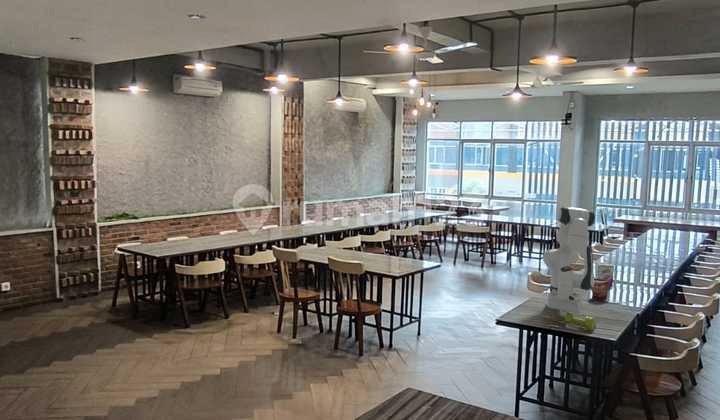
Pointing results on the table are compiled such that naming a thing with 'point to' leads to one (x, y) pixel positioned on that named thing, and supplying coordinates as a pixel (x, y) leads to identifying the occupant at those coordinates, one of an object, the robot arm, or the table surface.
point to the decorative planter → (600, 290)
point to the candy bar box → (606, 273)
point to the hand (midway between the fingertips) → (564, 317)
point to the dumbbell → (580, 321)
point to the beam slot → (564, 323)
